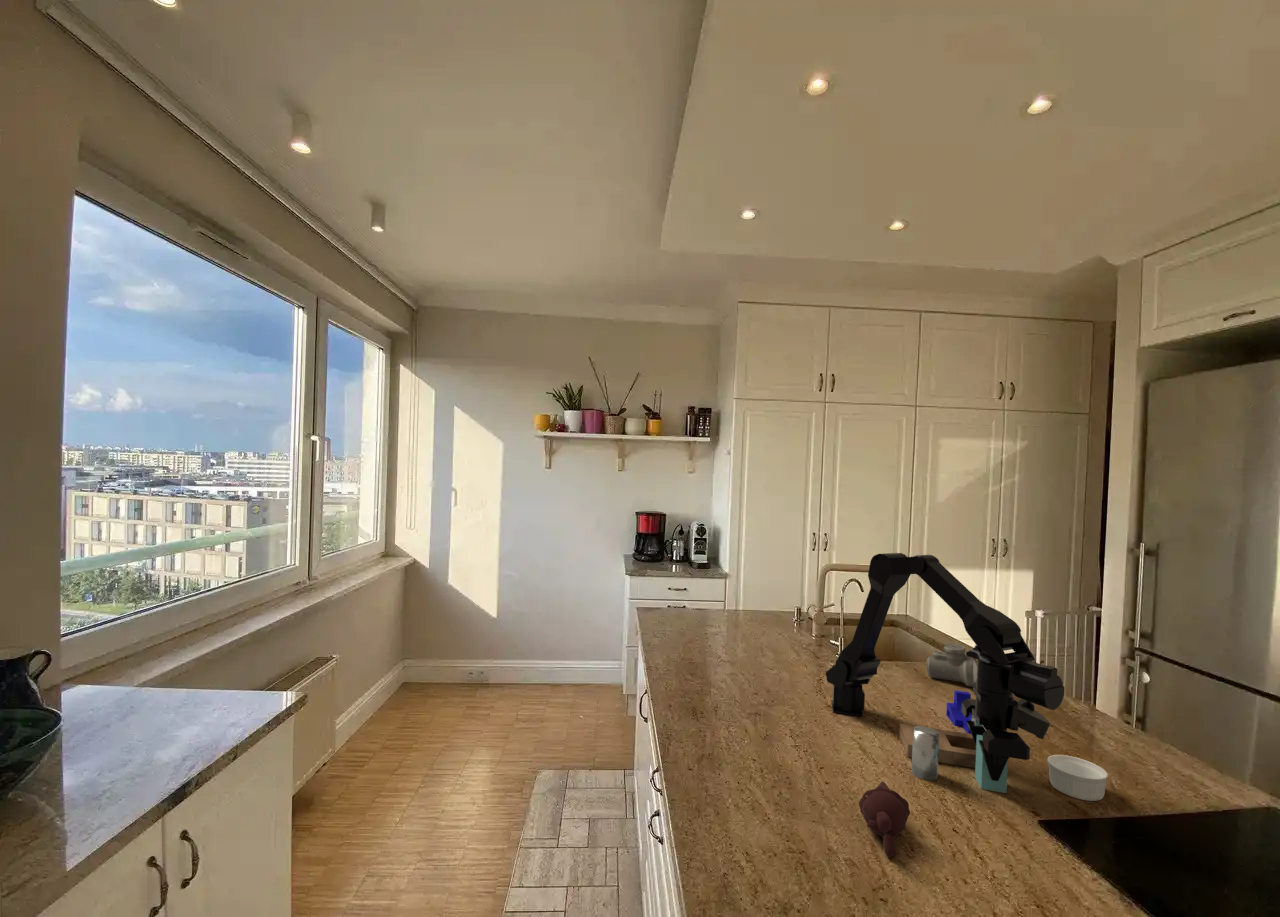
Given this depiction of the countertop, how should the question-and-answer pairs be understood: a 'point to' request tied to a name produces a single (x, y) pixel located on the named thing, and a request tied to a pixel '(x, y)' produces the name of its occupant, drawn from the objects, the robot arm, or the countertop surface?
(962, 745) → the socket board
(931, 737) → the round peg
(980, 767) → the square peg
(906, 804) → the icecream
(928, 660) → the pipe fitting
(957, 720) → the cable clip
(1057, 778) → the ramekin
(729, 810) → the countertop surface
